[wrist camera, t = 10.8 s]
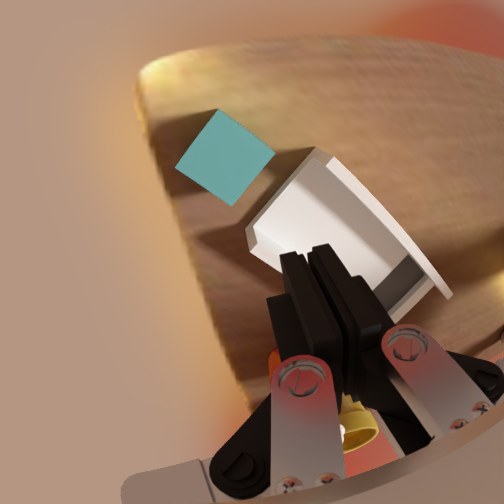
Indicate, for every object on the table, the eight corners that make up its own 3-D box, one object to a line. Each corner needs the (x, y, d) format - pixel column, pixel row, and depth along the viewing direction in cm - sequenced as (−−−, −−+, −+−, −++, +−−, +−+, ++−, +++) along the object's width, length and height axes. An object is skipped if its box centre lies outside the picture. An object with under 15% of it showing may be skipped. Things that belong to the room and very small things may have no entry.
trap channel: (315, 146, 25) (333, 156, 21) (434, 274, 34) (453, 294, 30) (244, 228, 28) (249, 252, 24) (383, 326, 37) (396, 348, 33)
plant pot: (321, 416, 48) (334, 460, 39) (288, 400, 43) (300, 452, 35) (368, 388, 45) (388, 433, 36) (342, 368, 40) (363, 421, 32)
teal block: (265, 143, 24) (218, 108, 22) (275, 153, 20) (218, 110, 18) (229, 187, 26) (183, 155, 24) (231, 206, 22) (174, 167, 20)
